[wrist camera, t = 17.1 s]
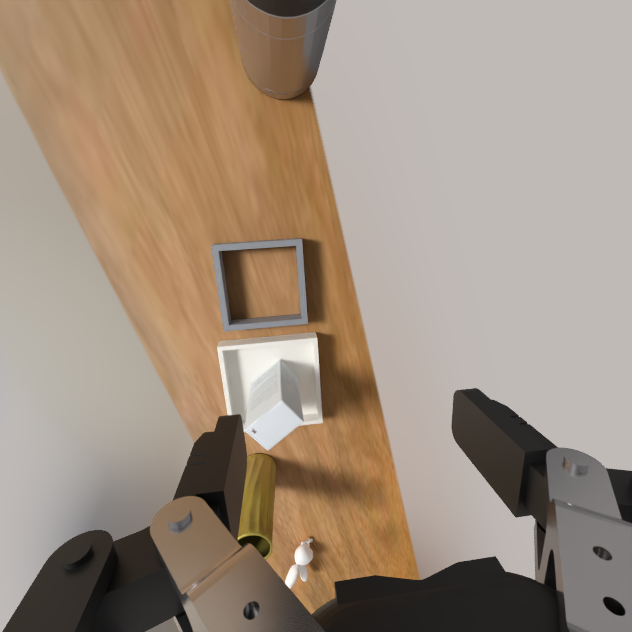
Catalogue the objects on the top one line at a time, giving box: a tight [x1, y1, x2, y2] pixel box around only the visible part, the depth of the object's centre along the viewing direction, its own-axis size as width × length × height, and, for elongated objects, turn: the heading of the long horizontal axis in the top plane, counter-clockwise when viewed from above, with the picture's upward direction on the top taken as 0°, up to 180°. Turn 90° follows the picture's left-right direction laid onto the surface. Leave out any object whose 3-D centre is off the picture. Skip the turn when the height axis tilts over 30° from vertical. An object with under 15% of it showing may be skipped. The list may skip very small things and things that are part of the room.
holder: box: [211, 238, 308, 331], centre depth 45 cm, size 12×12×2 cm
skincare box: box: [244, 360, 304, 451], centre depth 45 cm, size 6×4×12 cm
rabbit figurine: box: [285, 538, 313, 589], centre depth 59 cm, size 6×4×8 cm
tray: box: [217, 332, 323, 432], centre depth 50 cm, size 14×14×2 cm
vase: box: [237, 454, 277, 560], centre depth 48 cm, size 6×6×14 cm
